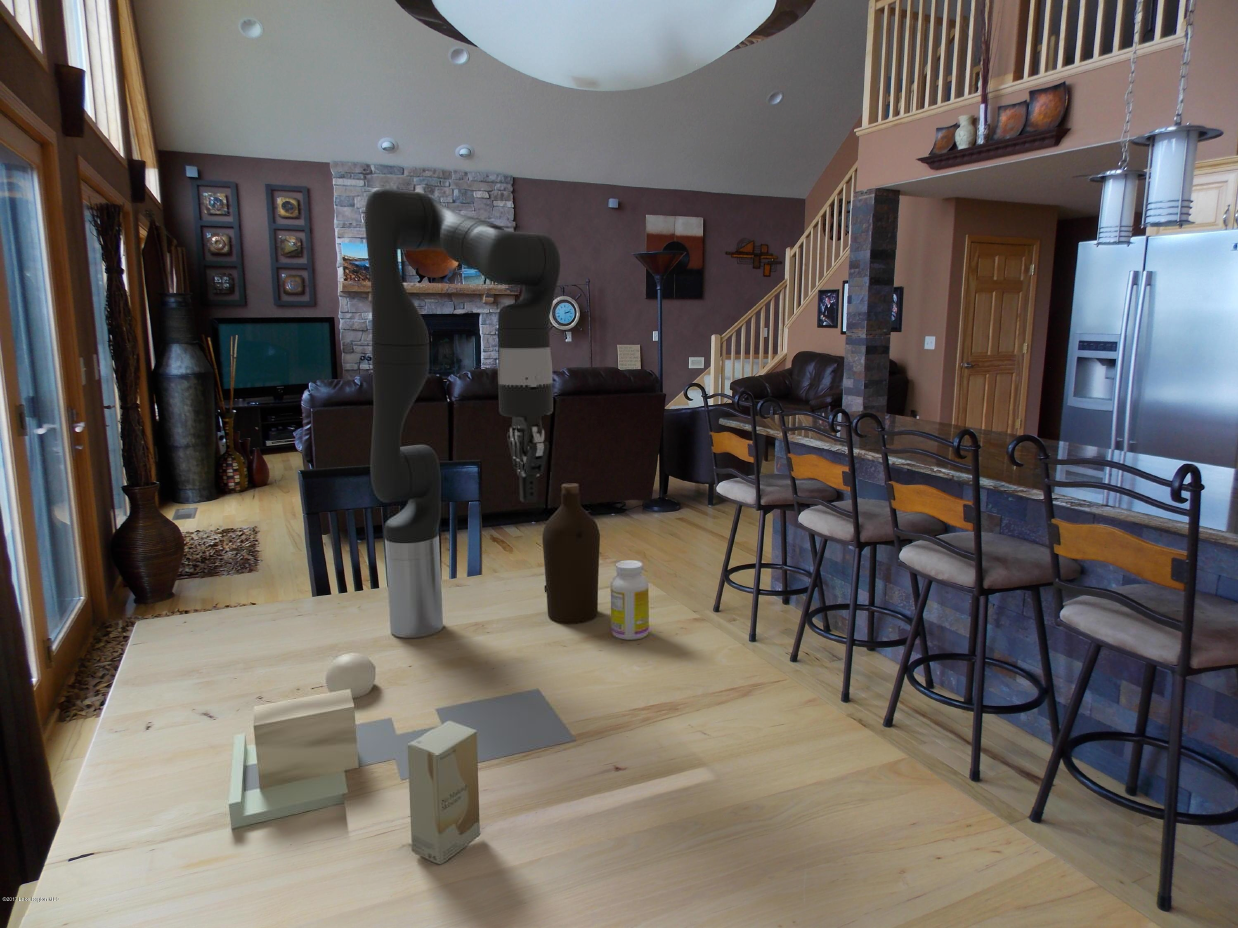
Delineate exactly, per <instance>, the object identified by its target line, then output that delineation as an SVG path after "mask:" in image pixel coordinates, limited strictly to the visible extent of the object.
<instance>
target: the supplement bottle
mask: <svg viewBox="0 0 1238 928" xmlns="http://www.w3.org/2000/svg"><path fill="white" fill-rule="evenodd" d="M643 565H644V564H643V563H642V562H640V561H639V560H630V559H629V560H621V561H617V562H616V564H615V573H616V576H614V577H613V578H612V579H611V581H610V623H611V624H610V627H611V629H610V630H611V634H612V635H613V636H614V637H615V638H617V639H619V640H626V641H627V640H629V641H634V640H635V641H636V640H640V639H643V638H645V637H647V635H649V632H650V631H649V630H650V618H649V617H650V613H649V612H650V609H649V607H650V605H649V598H650V597H649V580H648V579H647V578H646V576H643V575H642V573H643V570H644V569H643Z"/></svg>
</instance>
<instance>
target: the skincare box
mask: <svg viewBox="0 0 1238 928" xmlns="http://www.w3.org/2000/svg"><path fill="white" fill-rule="evenodd" d="M437 726H438V727H437V728H435V729H432V730H430V731H428V732H427V733H425V734H424V735H422V736H421V737H419V738H417V739H415V740H414V741H412V742H410V743H408V768H409V779H408V788H409V789H408V791H409V811H410V812H409V815H410V839H411V851H412V852H413V853H415V854H417V855H419V856H421V857H423V858H424V859H426V860H429V861H431V862H433V863H435V864H438V865H443V864H444V863H445V862H446V861H448V860H449V859H451V857H453V856H454V855H456V854H457V853H458V852H459V851H461V850H462V849H464V848H465V847H466V846H467V845H469V844H470V843H471V842H472V841H474V840H475V839H476V838H477V837H479V836H480V835H481V829H480V828H481V827H480V795H479V794H480V792H479V791H480V789H479V766H478V765H479V763H478V754H477V730H474V729H471V728H469V727H466V726H463V725H461V724H458V723H455V722H452V721H447V722H445V723H444V724H442V723H441V724H440V725H437Z"/></svg>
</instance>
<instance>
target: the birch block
mask: <svg viewBox="0 0 1238 928" xmlns="http://www.w3.org/2000/svg"><path fill="white" fill-rule="evenodd" d="M353 699H354V698H353ZM353 699H352V695H351V691H350V689H347V690H342V691H336V692H331V693H330V692H327V693H321V694H315V695H309V696H305V697H299V698H294V699H289V700H288V699H287V700H282V701H278V702H272V703H266V704H261V705H255V706H253V724H252V725H253V734H254V735H253V736H254V744H255V746H256V757H257V767H258V777H259V788H260V789H264V788H268V787H273V786H277V785H282V784H286V783H291V782H295V781H300V780H304V779H309V778H313V777H318V776H322V775H327V774H331V773H336V772H340V771H344V772H345V771H350V770H355V769H357V768H358V769H359V768H360V767H359V764H358V751H357V737H356V724H357V723H356V714H355V713H356V712H355V711H356V710H355V709H356V708H355V702H354V700H353Z"/></svg>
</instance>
